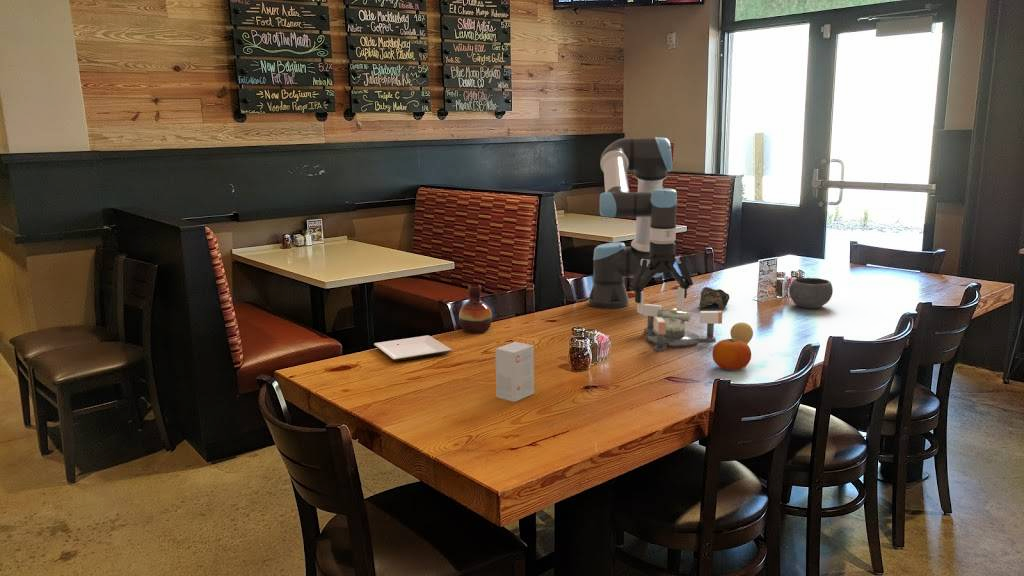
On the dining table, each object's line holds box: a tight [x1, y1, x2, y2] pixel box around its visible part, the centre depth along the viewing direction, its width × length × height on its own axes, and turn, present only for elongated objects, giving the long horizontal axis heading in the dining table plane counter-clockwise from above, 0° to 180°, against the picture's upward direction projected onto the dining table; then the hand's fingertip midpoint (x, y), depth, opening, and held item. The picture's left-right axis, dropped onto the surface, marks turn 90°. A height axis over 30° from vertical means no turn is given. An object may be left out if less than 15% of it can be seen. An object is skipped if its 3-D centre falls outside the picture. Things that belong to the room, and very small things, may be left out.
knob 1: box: [639, 303, 662, 329], centre depth 255 cm, size 6×2×8 cm, turn 65°
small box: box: [494, 341, 535, 403], centre depth 197 cm, size 8×6×13 cm
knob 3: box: [699, 310, 723, 337], centre depth 245 cm, size 6×2×8 cm, turn 88°
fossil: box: [698, 286, 730, 311], centre depth 288 cm, size 11×9×10 cm
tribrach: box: [643, 307, 717, 352], centre depth 243 cm, size 24×21×10 cm
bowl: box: [789, 277, 834, 309], centre depth 287 cm, size 15×15×10 cm
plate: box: [373, 334, 453, 362], centre depth 238 cm, size 19×19×2 cm
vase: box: [458, 284, 493, 334], centre depth 260 cm, size 11×11×15 cm
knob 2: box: [654, 317, 666, 346], centre depth 236 cm, size 6×2×8 cm, turn 179°
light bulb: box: [730, 322, 754, 345], centre depth 228 cm, size 6×6×10 cm
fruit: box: [711, 338, 752, 371], centre depth 217 cm, size 11×10×8 cm
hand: (660, 311), depth 235 cm, fingers open, 13 cm apart
